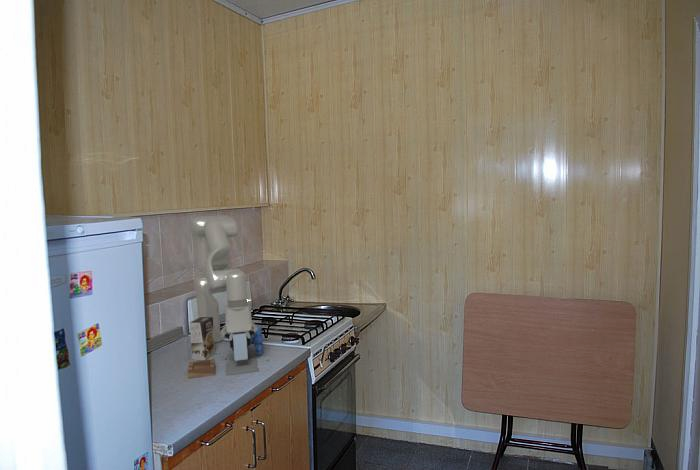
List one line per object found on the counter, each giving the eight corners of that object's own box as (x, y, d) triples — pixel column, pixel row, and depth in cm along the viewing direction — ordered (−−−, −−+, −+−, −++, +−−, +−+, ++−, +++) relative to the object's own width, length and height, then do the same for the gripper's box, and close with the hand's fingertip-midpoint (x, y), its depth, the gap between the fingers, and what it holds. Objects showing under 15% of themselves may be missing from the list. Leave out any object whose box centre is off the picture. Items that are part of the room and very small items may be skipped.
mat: (225, 363, 194) (225, 362, 194) (255, 359, 197) (255, 358, 197) (225, 375, 181) (225, 374, 181) (258, 371, 184) (258, 370, 184)
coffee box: (205, 360, 198) (202, 322, 197) (191, 359, 200) (188, 322, 198) (216, 352, 207) (213, 316, 206) (202, 352, 209) (199, 316, 207)
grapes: (249, 350, 209) (247, 323, 208) (264, 348, 210) (263, 321, 209) (249, 359, 198) (247, 330, 197) (265, 357, 199) (263, 329, 198)
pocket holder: (189, 369, 189) (189, 362, 188) (215, 366, 191) (214, 359, 191) (188, 378, 179) (187, 370, 179) (214, 375, 182) (214, 367, 181)
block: (234, 356, 190) (232, 332, 189) (247, 354, 191) (245, 330, 190) (234, 360, 185) (233, 335, 184) (247, 359, 187) (246, 334, 186)
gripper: (258, 299, 192) (261, 343, 194) (215, 303, 188) (218, 348, 190) (260, 303, 185) (262, 348, 187) (214, 307, 181) (218, 354, 182)
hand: (240, 348), depth 188 cm, fingers closed on block, 5 cm apart
